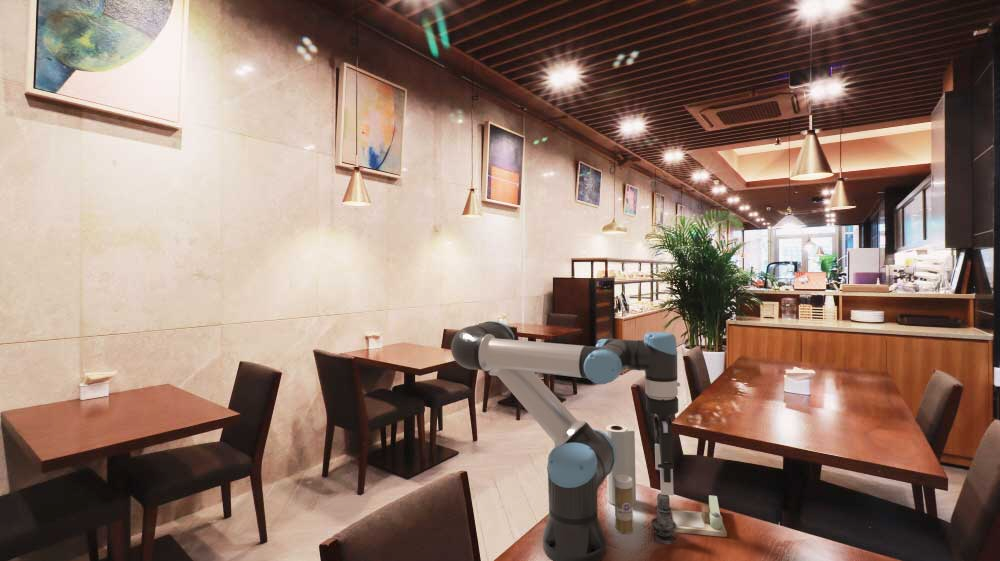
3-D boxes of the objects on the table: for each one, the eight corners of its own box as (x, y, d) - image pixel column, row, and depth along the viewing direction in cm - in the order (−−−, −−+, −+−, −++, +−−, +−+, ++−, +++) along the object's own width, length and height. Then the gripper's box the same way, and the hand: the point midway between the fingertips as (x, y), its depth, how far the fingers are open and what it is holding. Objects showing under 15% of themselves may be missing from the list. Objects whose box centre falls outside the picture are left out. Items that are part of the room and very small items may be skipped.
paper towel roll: (603, 498, 137) (601, 425, 136) (620, 494, 139) (618, 422, 138) (618, 510, 130) (617, 433, 129) (636, 505, 132) (634, 430, 132)
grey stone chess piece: (678, 545, 113) (677, 496, 113) (653, 543, 114) (652, 495, 114) (674, 532, 119) (673, 485, 118) (650, 530, 120) (649, 483, 120)
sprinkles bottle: (621, 536, 118) (620, 483, 117) (611, 526, 122) (610, 475, 122) (637, 532, 119) (636, 479, 119) (626, 522, 124) (625, 472, 123)
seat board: (675, 532, 119) (674, 515, 118) (670, 513, 127) (670, 498, 127) (726, 537, 116) (726, 520, 116) (718, 517, 125) (718, 502, 124)
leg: (722, 529, 116) (722, 517, 116) (710, 527, 117) (710, 515, 117) (718, 505, 128) (718, 494, 128) (707, 503, 129) (707, 492, 129)
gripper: (685, 411, 102) (688, 507, 103) (671, 383, 127) (673, 461, 127) (649, 410, 104) (652, 505, 105) (642, 382, 128) (644, 459, 129)
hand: (663, 481), depth 116 cm, fingers open, 13 cm apart
